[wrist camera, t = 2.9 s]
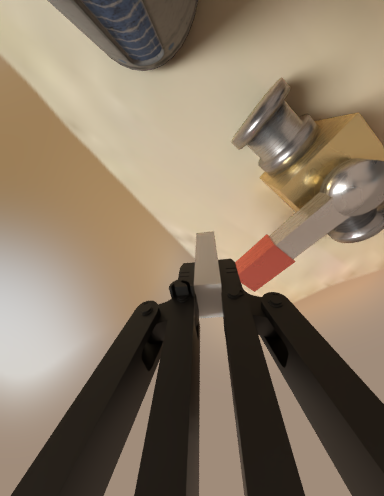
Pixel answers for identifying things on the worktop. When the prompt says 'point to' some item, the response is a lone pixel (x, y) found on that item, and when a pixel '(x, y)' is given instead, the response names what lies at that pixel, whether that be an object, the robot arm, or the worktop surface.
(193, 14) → the beverage bottle
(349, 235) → the valve pipe
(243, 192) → the worktop surface
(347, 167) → the lever
